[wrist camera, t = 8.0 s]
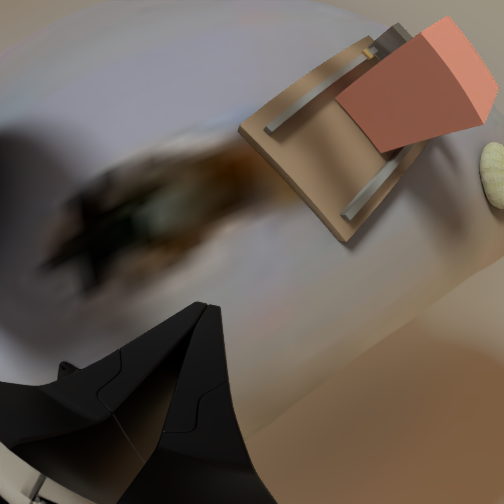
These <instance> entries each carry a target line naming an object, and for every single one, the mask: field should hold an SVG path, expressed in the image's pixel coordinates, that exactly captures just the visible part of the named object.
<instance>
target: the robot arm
mask: <svg viewBox="0 0 504 504" xmlns="http://www.w3.org/2000/svg"><path fill="white" fill-rule="evenodd" d="M63 366H64V367H65V368H64V367H63ZM0 504H278V503H277V502H276V500H275V499H274V498H273V496H272V495H271V493H270V492H269V491H268V489H267V488H266V486H265V485H264V483H263V482H262V480H261V479H260V477H259V476H258V474H257V472H256V470H255V468H254V466H253V464H252V462H251V459H250V457H249V454H248V451H247V448H246V446H245V443H244V440H243V437H242V434H241V431H240V428H239V425H238V422H237V419H236V415H235V411H234V408H233V403H232V398H231V392H230V384H229V377H228V369H227V360H226V352H225V343H224V334H223V325H222V315H221V308H220V306H216V305H211V304H210V305H208V304H206V303H202V302H194V303H192V304H191V305H189V306H188V307H186V308H184V309H183V310H181V311H180V312H178V313H176V314H175V315H173V316H172V317H170V318H168V319H167V320H165V321H164V322H162V323H160V324H159V325H157V326H155V327H154V328H152V329H151V330H149V331H147V332H146V333H144V334H143V335H141V336H139V337H138V338H136V339H134V340H133V341H131V342H130V343H128V344H126V345H125V346H123V347H121V348H120V350H119V349H118V350H116V351H115V352H113V353H111V354H110V355H108V356H106V357H104V358H103V359H101V360H99V361H97V362H95V363H93V364H91V365H89V366H87V367H85V368H83V369H81V370H79V369H77V368H75V367H73V366H72V365H70V364H68V363H66V362H64V361H63V362H61V363H60V364H59V370H58V378H57V381H54V382H52V383H49V384H45V385H40V386H30V385H22V384H14V383H7V382H1V381H0Z"/></svg>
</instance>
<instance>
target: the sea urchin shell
mask: <svg viewBox="0 0 504 504" xmlns="http://www.w3.org/2000/svg"><path fill="white" fill-rule="evenodd" d="M480 158H481V159H480V165H479V167H480V171H479V172H480V175H481V181H482V183H483V187H484V191H485V193H486V196H487V198H488V201H490V203H491V204H492V205H493V206H495V207H497V208H500V209H504V147H503V146H502V145H501V144H499V143H496V142H491V143H488V144H487V146H485V148H484V149H483V151H482V155H481V157H480Z"/></svg>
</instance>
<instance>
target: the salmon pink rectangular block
mask: <svg viewBox="0 0 504 504" xmlns="http://www.w3.org/2000/svg"><path fill="white" fill-rule="evenodd" d="M498 89H499V87H498V85H497V83H496V82H495V80H494V78H493V77H492V75H491V73H490V72H489V70H488V68H487V67H486V65H485V64H484V62H483V61H482V59H481V58H480V56H479V55H478V53H477V52H476V50H475V49H474V48H473V46H472V45H471V44H470V42H469V41H468V39H467V38H466V37H465V36H464V34H463V33H462V32H461V30H460V29H459V28H458V27H457V25H456V24H455V23H454V22H453V21H452V19H451V18H450V17H449V16H447V17H445V18H443V19H441V20H440V21H438V22H437V23H435V24H433V25H432V26H430V27H429V28H427V29H425V30H424V31H422V32H421V33H419V34H418V35H416V36H415V37H414V38H412V39H411V40H409V41H408V42H406V43H405V44H403V45H402V46H401V47H399V48H398V49H397V50H395V51H394V52H392V53H391V54H390V55H388V56H387V57H386V58H384V59H383V60H382V61H380V62H379V63H378V64H376V65H375V66H374V67H372V68H371V69H370V70H369V71H367V72H366V73H365V74H363V75H362V76H361V77H360V78H358V79H357V80H356V81H355V82H353V83H352V84H351V85H350V86H348V87H347V88H346V89H345V90H343V91H342V92H341V93H340V94H339V95H337V96H336V97H335V99H336V100H337V101H338V102H339V104H340V105H341V106H342V107H343V108H344V109H345V110H346V111H347V112H348V114H349V115H350V116H351V117H352V118H353V119H354V121H355V122H356V123H357V124H358V125H359V126H360V128H361V129H362V130H363V131H364V133H365V134H366V135H367V136H368V137H369V139H370V140H371V141H372V143H373V144H374V145H375V146H376V148H377V149H378V150H379V152H380V153H383V152H386V151H390V150H393V149H396V148H399V147H403V146H406V145H409V144H413V143H416V142H420V141H423V140H426V139H430V138H434V137H437V136H441V135H445V134H448V133H452V132H456V131H460V130H464V129H468V128H472V127H476V126H480V125H484V123H485V121H486V119H487V116H488V114H489V112H490V109H491V107H492V105H493V102H494V100H495V97H496V95H497V92H498Z"/></svg>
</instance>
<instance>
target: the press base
mask: <svg viewBox="0 0 504 504" xmlns="http://www.w3.org/2000/svg"><path fill="white" fill-rule="evenodd" d="M412 38H413V37H412V36H411V35H410V34H409V33H408V32H407V31H406V30H405V29H404V28H403V27H402V26H401V25H400V24H399V23H397V24H395V25H393V26H392V27H390V28H389V29H388V30H387V31H386V32H384V33H383V34H382V35H381V36H380V37H379V38H377V39H376V40H375V41H374V40H373V39H372V38H371V37H370V36H369V35H368V36H367V37H365V38H363V39H361V40H360V41H358V42H356V43H355V44H353V45H351V46H350V47H348V48H346V49H345V50H343V51H341V52H340V53H338V54H337V55H335V56H333V57H332V58H330V59H329V60H327V61H326V62H324V63H323V64H321V65H320V66H318V67H317V68H315V69H314V70H312V71H311V72H309V73H308V74H306V75H305V76H303V77H302V78H301V79H299V80H298V81H296V82H295V83H294V84H292V85H291V86H289V87H288V88H287V89H285V90H284V91H283V92H281V93H280V94H279V95H277V96H276V97H275V98H273V99H272V100H271V101H269V102H268V103H267V104H266V105H264V106H263V107H262V108H260V109H259V110H258V111H257V112H255V113H254V114H253V115H252V116H250V117H249V118H248V119H247V120H246V121H244V122H243V123H242V124H241V125H240V126H239V129H238V132H239V133H240V134H241V135H242V136H243V137H244V138H245V139H246V140H247V141H248V142H249V143H250V144H251V145H252V146H253V147H254V148H255V149H256V150H257V151H258V152H259V153H260V154H261V155H262V156H263V157H264V159H265V160H266V161H267V162H268V163H269V164H270V165H271V166H272V167H273V168H274V169H275V170H276V171H277V172H278V173H279V174H280V175H281V176H282V177H283V179H284V180H285V181H286V182H287V183H288V184H289V185H290V186H291V187H292V188H293V189H294V191H295V192H296V193H297V194H298V195H299V196H300V197H301V198H302V199H303V201H304V202H305V203H306V204H307V205H308V206H309V207H310V208H311V210H312V211H313V212H314V213H315V214H316V215H317V216H318V218H319V219H320V220H321V221H322V222H323V223H324V225H325V226H326V227H327V228H328V229H329V230H330V232H331V233H332V234H333V235H334V236H335V238H336V239H337V240H338V241H344V242H347V241H348V240H349V239H350V237H351V236H352V235H353V234H354V233H355V232H356V231H357V229H358V228H359V227H360V226H361V225H362V224H363V223H364V221H365V220H366V219H367V218H368V217H369V216H370V214H371V213H372V212H373V211H374V210H375V208H376V207H377V206H378V205H379V204H380V202H381V201H382V200H383V199H384V198H385V196H386V195H387V194H388V193H389V192H390V190H391V189H392V188H393V187H394V185H395V184H396V183H397V182H398V180H399V179H400V178H401V177H402V175H403V174H404V173H405V172H406V170H407V169H408V168H409V166H410V165H411V164H412V163H413V161H414V160H415V159H416V157H417V156H418V155H419V153H420V152H421V151H422V149H423V148H424V147H425V145H426V144H427V143H428V141H429V140H430V139H431V138H430V139H426V140H423V141H420V142H416V143H413V144H409V145H406V146H403V147H399V148H396V149H393V150H390V151H386V152H383V153H380V152H379V150H378V149H377V148H376V146H375V145H374V144H373V143H372V141H371V140H370V139H369V137H368V136H367V135H366V134H365V133H364V131H363V130H362V129H361V128H360V126H359V125H358V124H357V123H356V122H355V121H354V119H353V118H352V117H351V116H350V115H349V114H348V112H347V111H346V110H345V109H344V108H343V107H342V106H341V105H340V104H339V102H338V101H337V100H336V99H335V97H336V96H337V95H339V94H340V93H341V92H342V91H343V90H345V89H346V88H347V87H348V86H350V85H351V84H352V83H353V82H355V81H356V80H357V79H358V78H360V77H361V76H362V75H363V74H365V73H366V72H367V71H369V70H370V69H371V68H372V67H374V66H375V65H376V64H378V63H379V62H380V61H382V60H383V59H384V58H386V57H387V56H388V55H390V54H391V53H392V52H394V51H395V50H397V49H398V48H399V47H401V46H402V45H403V44H405V43H406V42H408V41H409V40H411V39H412Z"/></svg>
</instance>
